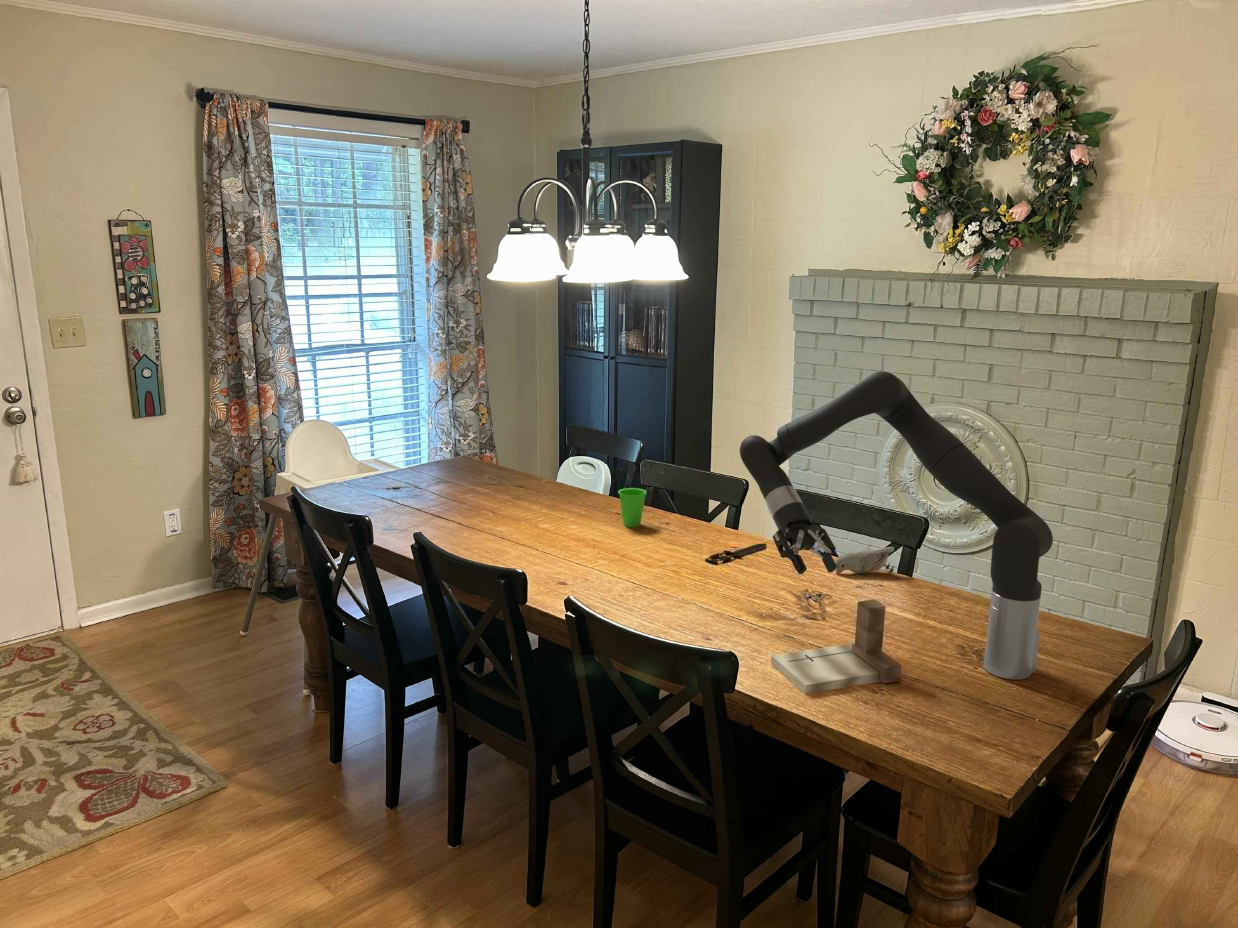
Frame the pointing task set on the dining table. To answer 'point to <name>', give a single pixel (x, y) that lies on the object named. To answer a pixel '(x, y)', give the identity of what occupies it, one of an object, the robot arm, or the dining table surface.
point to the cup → (632, 505)
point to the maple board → (825, 668)
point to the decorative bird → (864, 561)
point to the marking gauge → (874, 640)
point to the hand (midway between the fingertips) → (818, 571)
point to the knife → (734, 554)
